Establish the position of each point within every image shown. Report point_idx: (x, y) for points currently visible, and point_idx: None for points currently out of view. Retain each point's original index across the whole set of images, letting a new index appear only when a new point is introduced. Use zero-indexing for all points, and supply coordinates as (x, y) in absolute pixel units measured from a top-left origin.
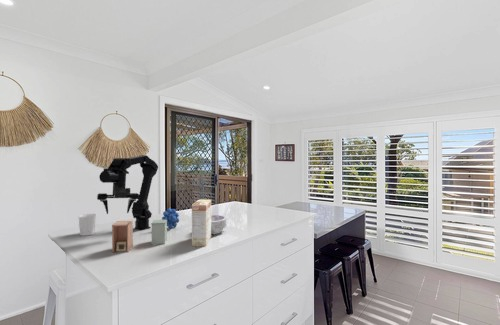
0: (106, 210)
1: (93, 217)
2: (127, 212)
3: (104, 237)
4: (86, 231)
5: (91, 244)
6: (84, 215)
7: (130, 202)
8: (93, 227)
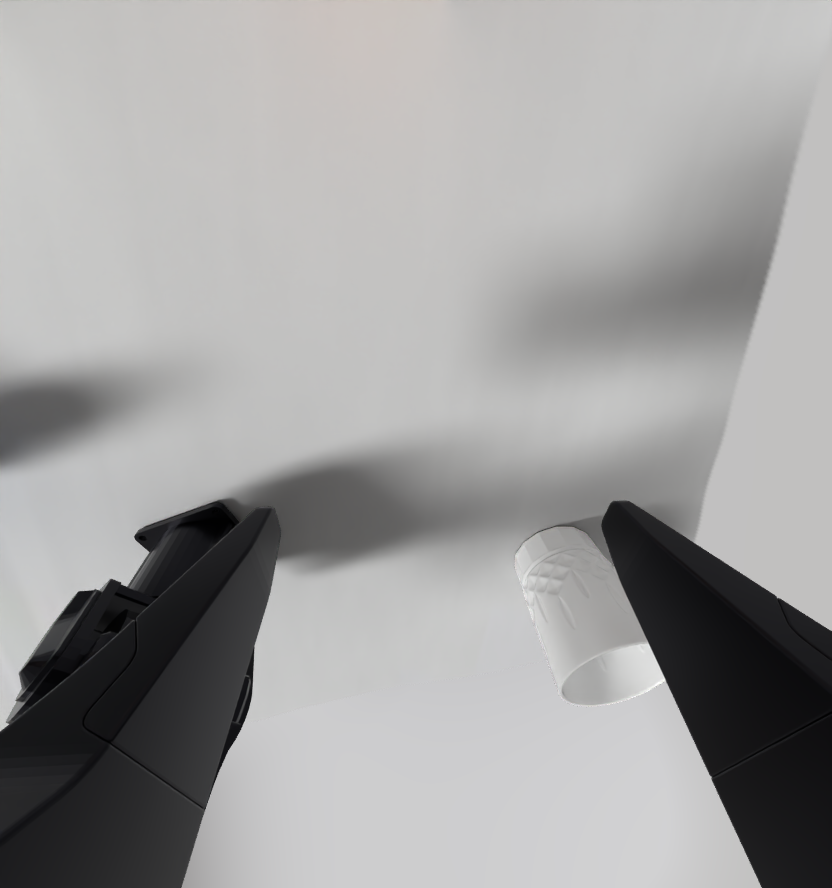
0: (691, 545)
1: (583, 642)
2: (268, 514)
3: (487, 441)
4: (579, 545)
5: (610, 301)
6: (616, 691)
7: (8, 799)
8: (544, 573)
